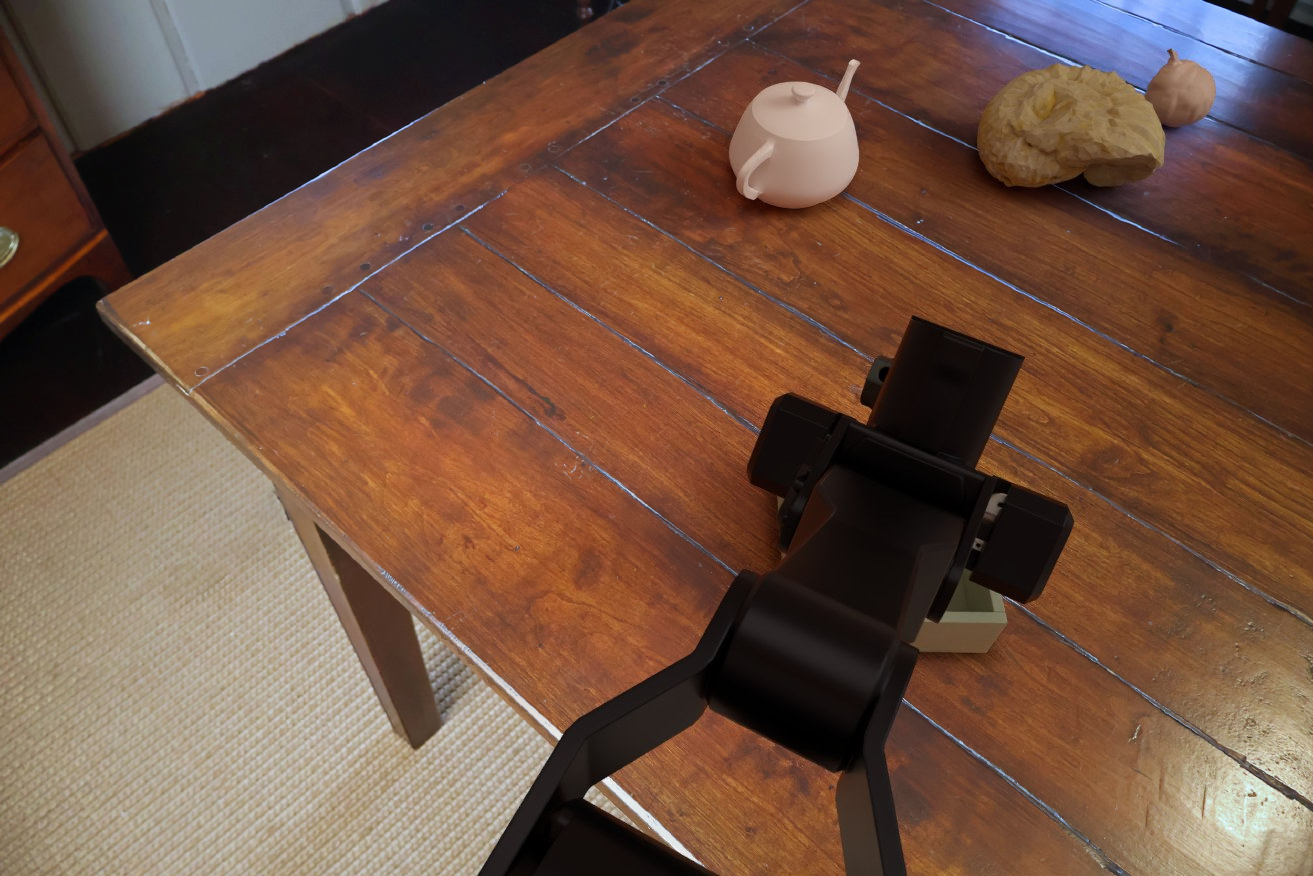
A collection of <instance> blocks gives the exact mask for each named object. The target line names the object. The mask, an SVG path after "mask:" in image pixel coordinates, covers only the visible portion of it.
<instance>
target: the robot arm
mask: <svg viewBox="0 0 1313 876" xmlns="http://www.w3.org/2000/svg"><path fill="white" fill-rule="evenodd" d="M1025 359H1026V356H1025V355H1021V354H1019V353H1017V352H1014V351H1012V350H1008V349H1005V348H1003V347H1000V346H998V345H995V344H992V343H989V342H986V341H984V340H982V339H979V338H975V337H973V336H970V335H968V334H965V333H962V332H959V331H957V330H954V329H951V328H949V327H946V326H943V325H941V324H938V323H936V322H933V321H931V320H927V319H925V318H922V317H919V316H916V315H914V314H912V315H911V316H910V318H909V322H908V324H907V327H906V329H905V331H904V333H903V336H902V338H901V341H900V342H899V345H898V348H897V350H896V352H895V355H894V357H893V358H891V357H888V356H886V355H882V354H880V355H878V356H877V357H876V358H874V360H873V362H872V364H871V367H870V369H869V371H868V373H867V375H866V377H865V380H864V384H863V386H862V390H861V394H860V397H859V402H860V405H862V406H864V407H867V408H869V409H870V414H869V416H868V419H867V422H866V423H863V422H861V421H858V419H857V418H855V417H853V416H850V415H848V414H846V413H843V412H840V411H838V410H835V409H833V408H831V407H830V406H828V405H825V404H822V403H820V402H817V401H815V400H812V399H810V398H808V397H805V396H804V395H800V394H799V393H795V392H793V391H790V392H786V393H783V394H781V395H778V396H777V397H775V398H774V399H773V401H772V403H771V405H770V407H768V411H767V413H766V417H765V418H764V421H763V424H762V426H761V429H760V431H759V434H758V436H757V439H756V442H755V444H754V447H753V449H752V451H751V454H750V456H749V459H748V462H747V463H746V464H747V465H746V471H745V472H746V475H747V480H748V483H749V485H751V486H754V487H756V488H759V489H760V490H763V491H765V492H768V493H770V494H772V495H774V496H776V497H777V496H779V497H781V498H783V499H784V501H783V503H782V505H781V507H780V509H779V511H778V510H777V514H776V517H775V520H774V522H775V525H776V527H777V529H778V536H779V538H778V541H777V546H776V550H777V551H778V552H779V553H781V552H782V553H784V554H786V556H785V557H784V558H783V559H782V558H781V560H780V561H779V562H778V563H776V565H774V567H772V569H771V570H769V571H766V572H763V573H758V572H755V571H753V570H751V569H749V568H746V567H745V568H742V569H741V570H740V571H739V572H738V573H737V575H736V576H735V577H734V578H733V580H732V582H731V584H730V585H729V587H728V588H727V590H726V592H725V594H724V595H723V596H722V599H721V600H720V603H719V604H718V606H717V608H716V609H715V612H714V614H713V616H712V617H711V619H710V621H709V623H708V625H707V627H706V628H705V630H704V631H703V633H702V635H701V637H700V639H699V641H698V642H697V645H696V646H695V647H694V649H693V651H691V653H689V654H686V655H685V656H684V657H682V658H680V659H679V660H677V661H675V662H673V663H671V664H669V665H668V666H666V667H665V668H662V669H661V670H659V671H658V672H656V673H654V674H652V675H651V676H649V677H647V678H646V679H644V680H642V681H640V682H639V683H637V684H635V685H634V686H632V687H630V688H627V689H626V690H624V691H623V692H621V693H620V694H617V695H616V696H614V697H612V698H611V699H609V700H607V701H606V702H603V703H602V704H601V705H599V706H596V707H595V708H593V709H592V710H590V711H588V712H587V713H585V714H583V715H581V716H579V717H578V718H577V719H576V720H574V721H573V722H572V723H571V725H569V726H568V727H567V728H566V729H565V730H564V731H563V733H562V735H561V736H560V738H559V740H558V742H557V743H556V745H555V746H554V749H552V751H551V753H550V755H549V756H548V758H547V759H546V761H545V763H544V765H543V766H542V768H541V770H540V771H539V773H538V775H537V776H536V778H535V780H534V781H533V783H532V785H531V786H530V788H529V789H528V791H527V793H526V795H525V796H524V797H523V799H522V801H521V802H520V804H519V806H518V807H517V809H516V811H515V812H514V814H513V816H512V817H511V819H510V820H509V823H508V824H507V825H506V827H505V829H504V830H503V832H502V834H501V836H500V837H499V839H498V841H497V842H496V844H495V845H494V847H493V848H492V850H491V852H490V854H489V856H488V857H487V859H486V860H485V862H484V863H483V864H482V867H481V869H480V870H479V872H478V873H477V875H476V876H721V875H720V874H718V873H716V872H714V871H713V870H710V869H709V868H707V867H706V866H704V865H702V864H701V863H698V862H697V861H695V860H693V859H691V858H690V857H688V856H686V855H684V854H682V853H681V852H680V851H677V850H675V849H674V848H672V847H670V846H668V845H666V844H665V843H663V842H662V841H660V840H658V839H656V838H654V837H652V836H651V835H649V834H647V833H645V832H644V831H641V829H638V828H636V827H634V826H633V825H632V824H629V823H627V821H624V820H622V819H621V818H619V817H617V816H615V815H613V814H612V813H610V812H609V811H606V810H604V809H603V808H602V807H599V806H597V805H596V804H594V803H592V802H590V801H589V800H587V799H585V796H586V795H587V793H588V791H590V789H591V788H592V787H593V786H595V785H597V784H599V783H600V782H602V781H603V780H605V779H607V778H609V777H610V776H611V775H613V774H615V773H617V772H618V771H620V770H622V769H623V768H625V767H627V766H629V765H630V764H631V763H633V762H635V761H636V760H639V759H640V758H641V757H643V756H645V755H646V754H648V753H649V752H652V751H653V750H654V749H657V748H658V747H660V746H661V745H663V744H664V743H666V742H668V741H670V740H671V739H673V738H674V737H676V736H678V735H679V734H681V733H682V732H684V731H686V730H688V729H689V728H690V727H692V726H695V724H696V723H697V722H698V721H699V720H700V719H701V717H702V716H703V715H704V714H705V712H706V710H707V708H708V709H709V711H711V712H713V713H715V714H718V715H719V716H721V717H723V718H725V719H727V720H729V721H730V722H733V723H735V724H737V725H739V726H741V727H743V728H744V729H746V730H749V731H750V732H752V733H754V734H756V735H758V736H760V737H761V738H764V739H766V740H768V741H770V742H771V743H774V744H775V745H777V746H778V747H781V748H783V749H785V750H786V751H789V752H791V753H793V754H795V755H797V756H798V757H801V758H803V759H804V760H806V761H809V762H810V763H811V764H812V763H813V764H814V765H816V766H818V767H820V768H821V769H824V770H826V771H828V772H829V773H832V774H837V773H840V775H839V777H838V780H837V782H836V788H835V797H834V800H835V807H836V808H835V809H836V814H837V822H838V830H839V836H840V841H841V842H840V843H841V849H842V855H843V862H844V870H845V876H908V872H907V867H906V861H905V855H904V850H903V845H902V838H901V834H900V829H899V823H898V818H897V812H896V811H897V810H896V805H895V801H894V796H893V789H892V785H891V780H890V774H889V768H888V763H887V758H886V751H885V747H886V743H887V741H888V738H889V735H890V732H891V731H892V727H893V725H894V722H895V720H896V717H897V715H898V712H899V709H900V707H901V704H902V702H903V699H904V696H905V694H906V692H907V689H908V686H909V684H910V681H911V678H912V676H913V674H914V673H913V672H914V670H915V667H916V664H917V661H918V658H919V655H920V652H919V649H918V648H916V647H914V646H912V645H910V643H913V642H915V640H916V638H917V636H918V633H919V631H920V629H921V627H922V625H923V622H924V620H925V618H927V619H928V620H930V621H933V622H935V623H937V624H938V623H939V622H940V620H941V619H942V617H943V615H944V613H945V611H946V609H947V607H948V605H949V603H950V601H951V599H952V597H953V595H954V592H955V590H956V588H957V586H958V583H959V581H960V578H961V576H962V574H963V571H964V569H967V570H969V571H971V573H970V575H969V581H971V582H974V583H976V584H978V585H980V586H983V587H985V588H987V589H990V590H992V591H994V592H996V593H999V594H1001V595H1002V597H1006V598H1008V599H1010V600H1013V601H1014V602H1017V603H1019V604H1022V605H1026V604H1029V603H1031V602H1034V601H1037V600H1038V599H1039V598H1040V596H1041V595H1042V594H1043V593H1044V590H1045V588H1046V586H1047V584H1048V581H1049V580H1050V578H1051V576H1052V573H1053V571H1054V570H1055V567H1056V565H1057V564H1058V561H1059V559H1060V557H1061V555H1062V552H1063V550H1064V548H1065V546H1066V544H1067V542H1068V540H1069V539H1070V536H1071V534H1072V531H1073V527H1074V525H1075V519H1074V516H1073V515H1072V512H1071V509H1070V508H1069V507H1070V506H1069V505H1068V504H1067V503H1065V502H1063V501H1060V500H1059V499H1055V498H1053V497H1050V496H1048V495H1046V494H1043V493H1041V492H1039V491H1035V490H1033V489H1030V488H1028V487H1025V486H1023V485H1019V484H1017V483H1014V482H1012V481H1009V480H1007V479H1005V478H1002V477H1000V476H997V475H995V474H994V475H990V474H988V473H985V472H983V471H981V470H978V469H976V468H977V466H978V463H979V461H980V460H981V457H982V455H983V453H984V450H985V449H986V446H987V444H988V441H989V439H990V438H991V435H992V432H993V431H994V429H995V425H996V424H997V422H998V419H999V418H1000V415H1001V413H1002V410H1003V409H1004V406H1005V403H1006V402H1007V399H1008V398H1009V395H1010V393H1011V391H1012V388H1013V385H1014V384H1015V381H1016V380H1017V377H1018V375H1019V372H1020V370H1021V368H1022V366H1023V364H1024V361H1025Z"/></svg>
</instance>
